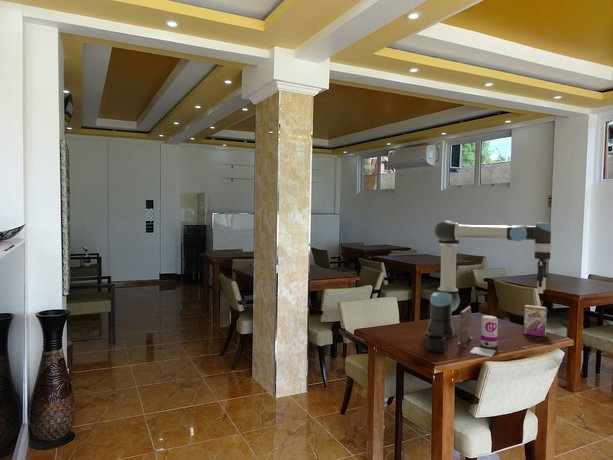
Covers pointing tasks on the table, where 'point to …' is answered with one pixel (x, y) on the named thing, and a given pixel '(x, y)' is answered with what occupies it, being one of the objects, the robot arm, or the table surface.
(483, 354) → the tile
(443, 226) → the robot arm
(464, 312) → the screen
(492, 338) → the supplement can
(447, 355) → the table surface
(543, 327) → the candy bar box
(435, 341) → the mug
